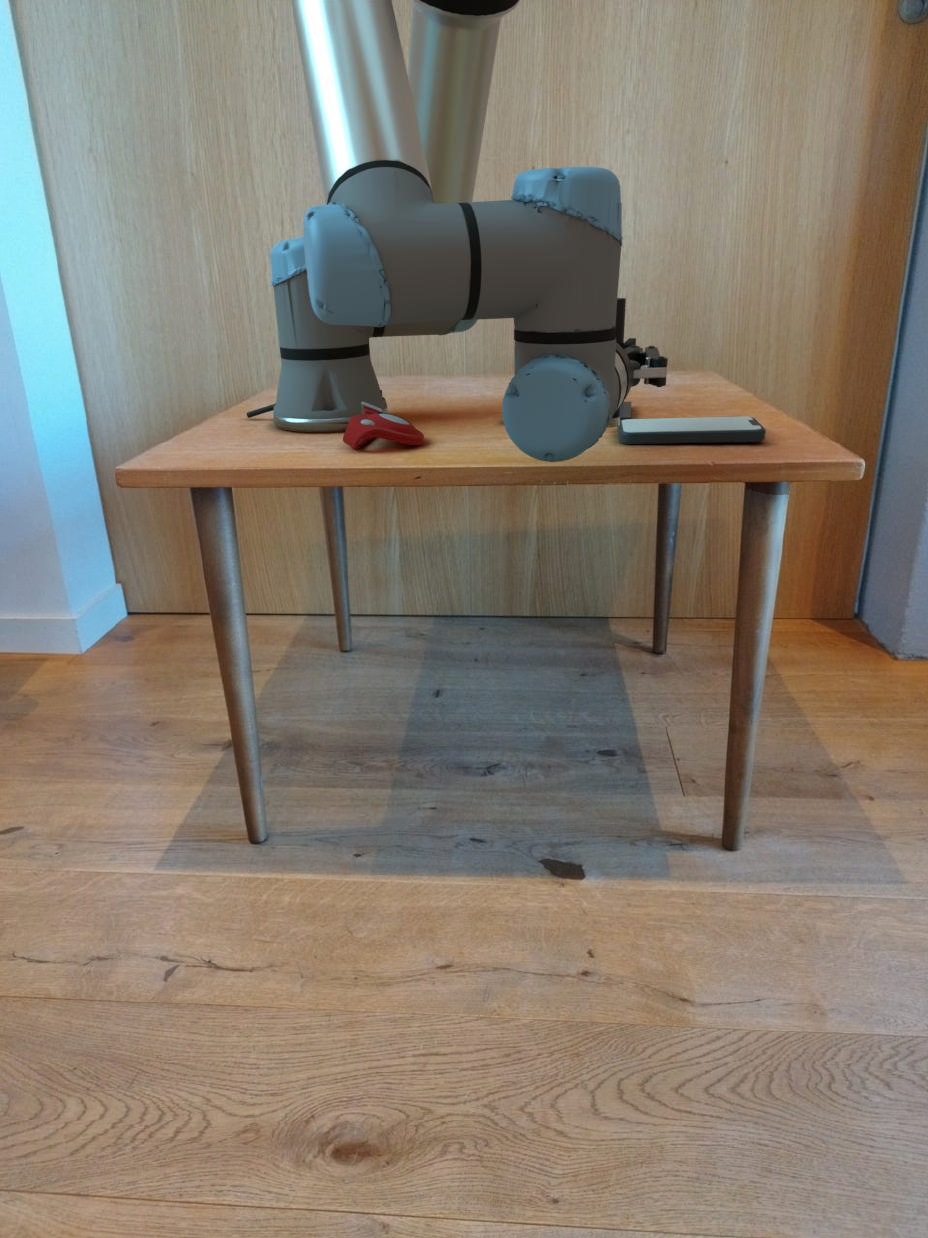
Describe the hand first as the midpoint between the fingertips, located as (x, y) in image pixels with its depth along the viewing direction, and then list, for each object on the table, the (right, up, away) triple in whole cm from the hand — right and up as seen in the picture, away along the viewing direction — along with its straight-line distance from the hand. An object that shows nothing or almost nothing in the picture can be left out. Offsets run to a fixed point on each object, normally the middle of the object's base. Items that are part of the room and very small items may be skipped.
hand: (617, 350), depth 91 cm
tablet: (-3, -3, +19) cm, 19 cm away
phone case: (+9, -9, +4) cm, 13 cm away
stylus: (-1, -9, -2) cm, 9 cm away
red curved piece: (-27, -9, +7) cm, 29 cm away
